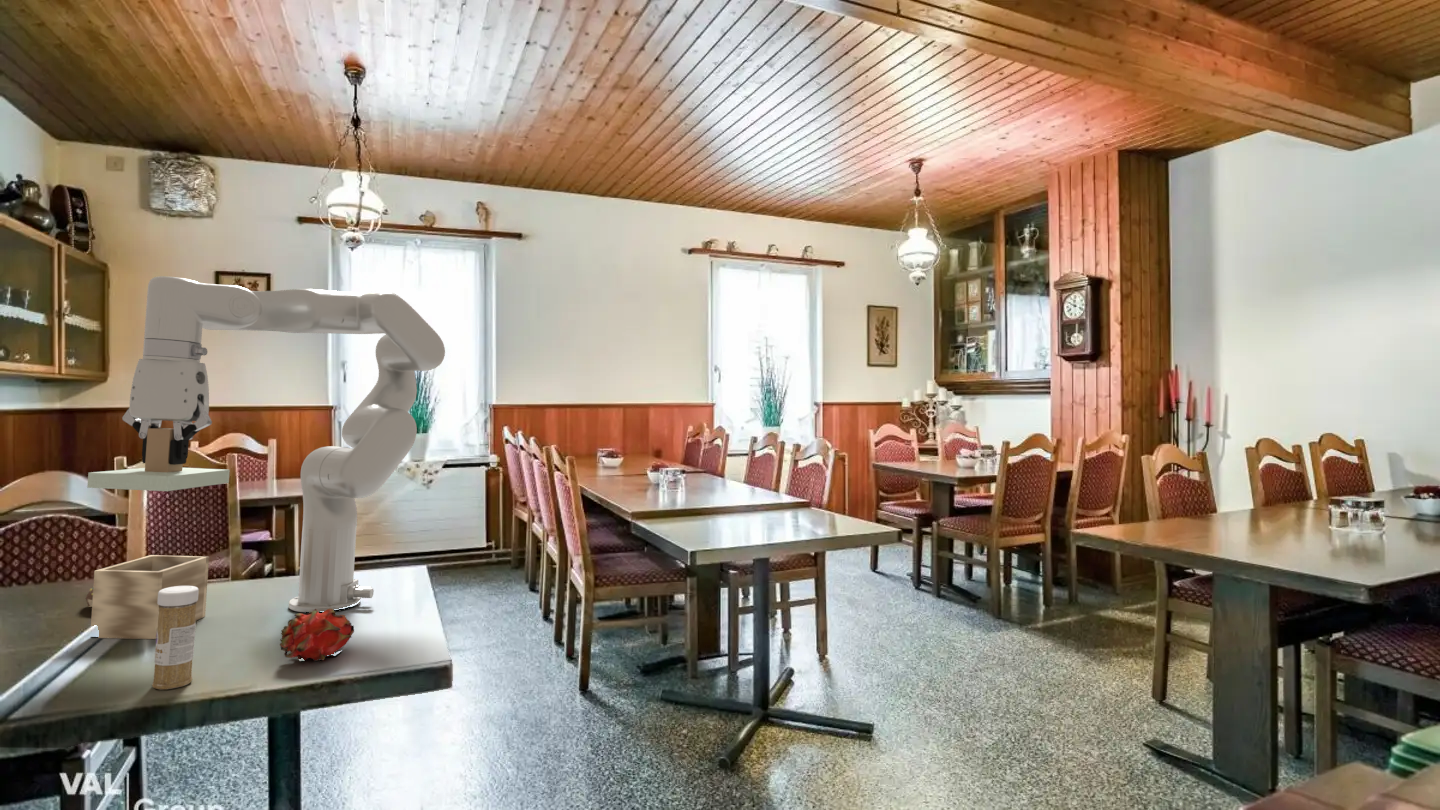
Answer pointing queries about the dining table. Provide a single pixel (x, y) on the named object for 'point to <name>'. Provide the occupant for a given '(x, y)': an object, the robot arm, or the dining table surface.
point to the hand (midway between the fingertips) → (164, 462)
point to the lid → (158, 470)
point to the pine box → (143, 593)
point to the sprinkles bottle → (175, 637)
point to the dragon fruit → (315, 634)
